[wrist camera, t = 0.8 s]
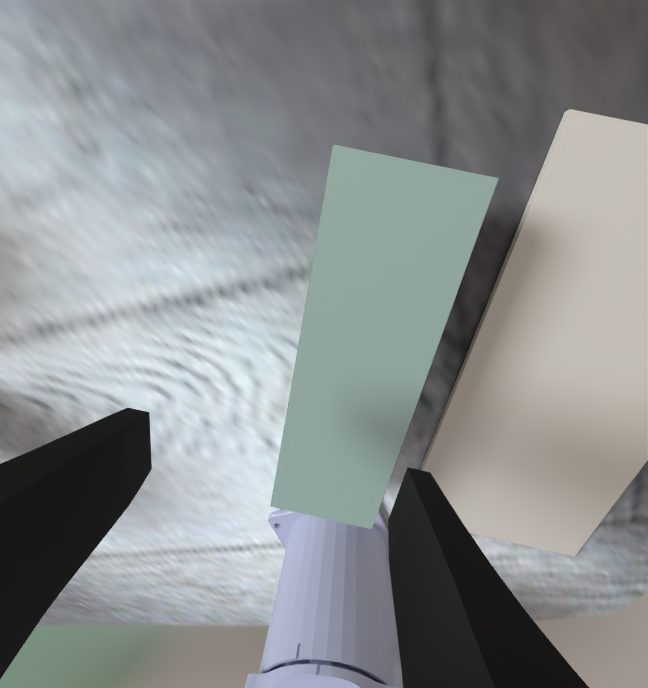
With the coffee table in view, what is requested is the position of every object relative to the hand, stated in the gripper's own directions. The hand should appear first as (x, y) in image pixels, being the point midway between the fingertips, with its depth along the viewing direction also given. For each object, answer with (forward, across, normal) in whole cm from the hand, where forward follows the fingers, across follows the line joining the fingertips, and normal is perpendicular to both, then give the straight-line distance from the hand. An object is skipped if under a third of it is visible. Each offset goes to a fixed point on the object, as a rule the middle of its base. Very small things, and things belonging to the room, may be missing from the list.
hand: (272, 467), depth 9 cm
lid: (+7, -2, 0) cm, 8 cm away
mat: (+10, -14, 0) cm, 18 cm away
